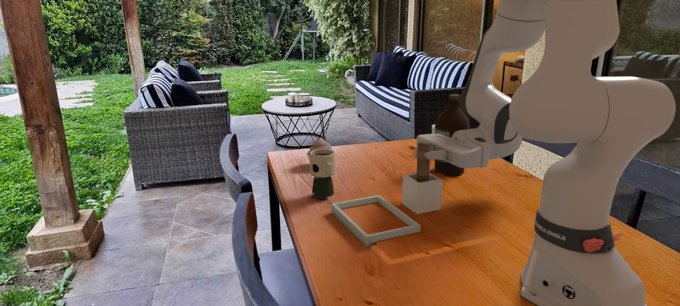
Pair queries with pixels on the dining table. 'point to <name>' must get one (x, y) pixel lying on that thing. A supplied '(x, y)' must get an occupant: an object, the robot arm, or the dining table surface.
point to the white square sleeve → (422, 193)
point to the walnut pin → (423, 162)
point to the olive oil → (450, 132)
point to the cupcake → (319, 145)
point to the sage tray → (371, 238)
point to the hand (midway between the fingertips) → (420, 153)
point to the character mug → (322, 172)
